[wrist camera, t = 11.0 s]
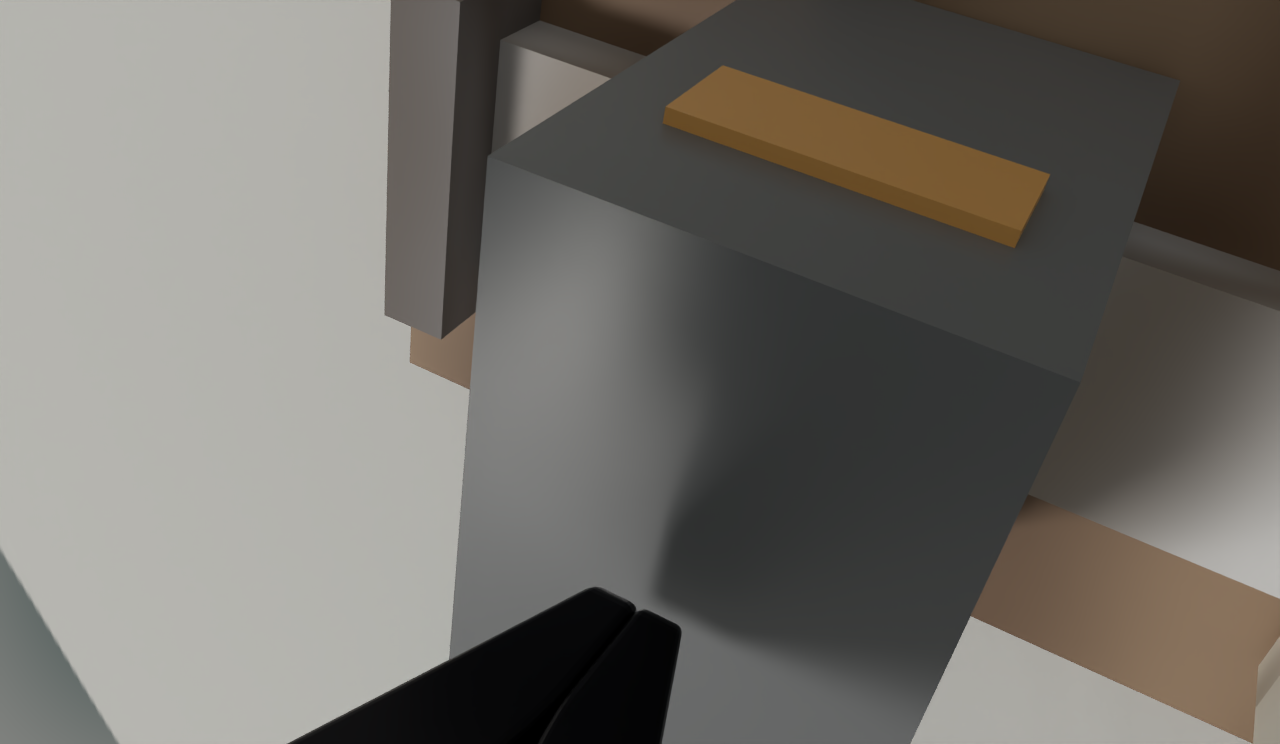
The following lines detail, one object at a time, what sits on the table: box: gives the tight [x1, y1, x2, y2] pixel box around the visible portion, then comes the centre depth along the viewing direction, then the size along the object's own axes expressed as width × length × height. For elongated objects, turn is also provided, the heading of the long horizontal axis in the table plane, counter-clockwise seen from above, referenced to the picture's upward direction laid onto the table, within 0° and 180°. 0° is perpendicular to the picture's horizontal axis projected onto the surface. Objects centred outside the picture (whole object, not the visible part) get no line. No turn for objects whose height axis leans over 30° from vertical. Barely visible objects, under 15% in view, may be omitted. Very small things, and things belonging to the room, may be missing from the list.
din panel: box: [385, 0, 1280, 744], centre depth 12 cm, size 22×10×8 cm, turn 82°
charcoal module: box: [449, 0, 1180, 744], centre depth 13 cm, size 4×7×7 cm, turn 172°
